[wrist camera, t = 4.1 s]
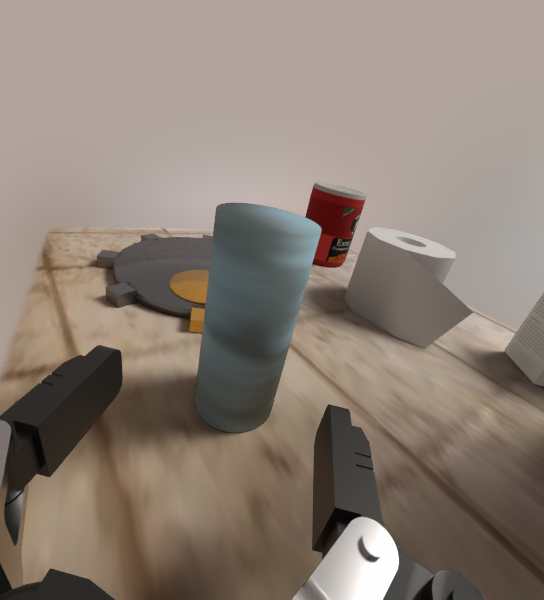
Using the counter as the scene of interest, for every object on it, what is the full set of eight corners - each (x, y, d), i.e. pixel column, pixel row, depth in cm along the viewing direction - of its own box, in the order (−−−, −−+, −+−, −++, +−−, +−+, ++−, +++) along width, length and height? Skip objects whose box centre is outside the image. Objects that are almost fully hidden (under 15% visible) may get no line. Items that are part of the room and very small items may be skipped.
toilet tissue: (437, 361, 29) (484, 281, 25) (329, 297, 37) (352, 228, 33) (465, 336, 35) (507, 268, 31) (368, 285, 43) (391, 226, 39)
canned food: (333, 272, 45) (358, 196, 40) (287, 253, 48) (305, 181, 43) (350, 261, 51) (373, 194, 46) (308, 246, 54) (325, 181, 49)
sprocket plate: (245, 242, 48) (247, 233, 48) (335, 313, 33) (339, 301, 33) (91, 242, 37) (90, 230, 36) (120, 350, 22) (119, 333, 21)
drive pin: (249, 366, 23) (284, 206, 17) (286, 417, 19) (343, 236, 14) (184, 383, 20) (200, 199, 15) (212, 445, 17) (247, 234, 11)
